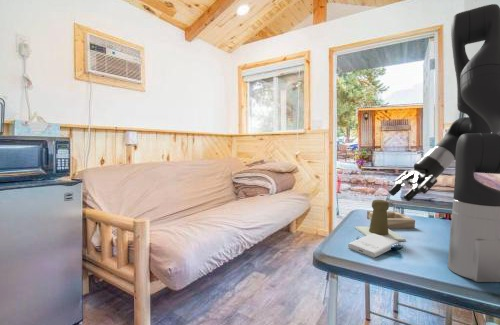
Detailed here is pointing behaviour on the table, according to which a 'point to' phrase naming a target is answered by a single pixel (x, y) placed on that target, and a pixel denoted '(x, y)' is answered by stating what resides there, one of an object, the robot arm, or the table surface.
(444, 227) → the table surface
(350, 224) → the table surface
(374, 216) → the cork
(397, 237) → the mat
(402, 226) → the holder
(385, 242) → the external hard drive
